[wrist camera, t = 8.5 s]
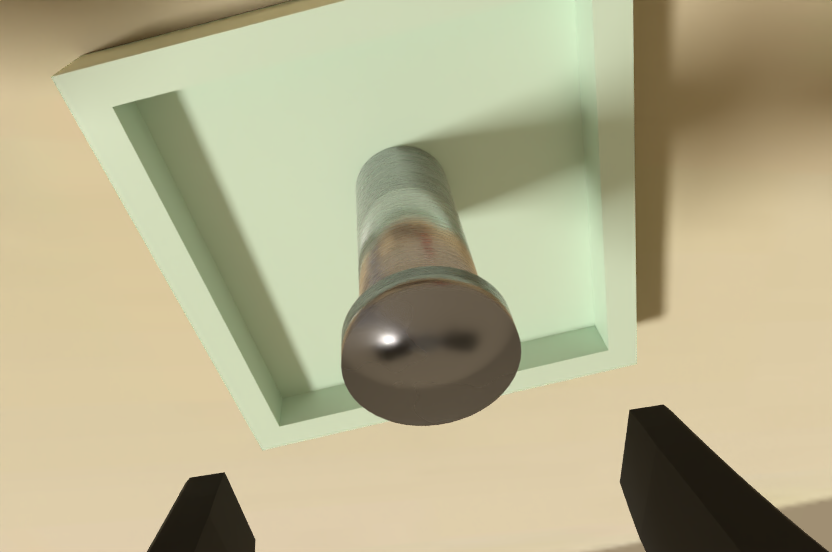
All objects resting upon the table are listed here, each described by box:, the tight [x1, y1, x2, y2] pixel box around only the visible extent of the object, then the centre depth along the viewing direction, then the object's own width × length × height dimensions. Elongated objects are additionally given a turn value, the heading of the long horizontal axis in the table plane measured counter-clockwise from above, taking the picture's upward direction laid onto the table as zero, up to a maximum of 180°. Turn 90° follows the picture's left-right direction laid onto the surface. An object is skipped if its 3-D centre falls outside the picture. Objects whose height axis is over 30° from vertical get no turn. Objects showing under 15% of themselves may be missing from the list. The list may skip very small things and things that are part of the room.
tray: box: [51, 0, 637, 450], centre depth 19 cm, size 14×14×2 cm
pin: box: [341, 146, 521, 426], centre depth 15 cm, size 4×4×8 cm
